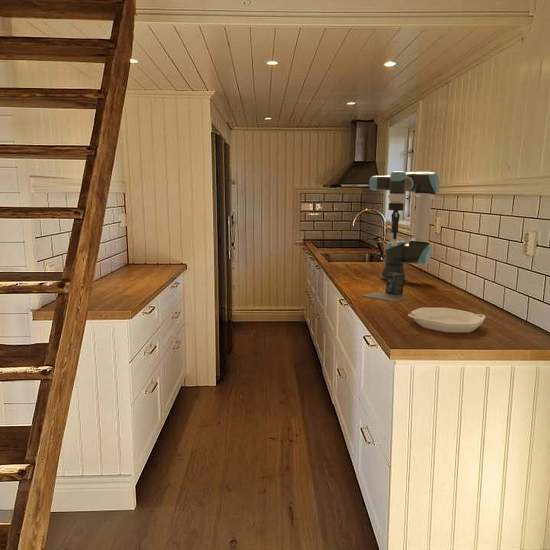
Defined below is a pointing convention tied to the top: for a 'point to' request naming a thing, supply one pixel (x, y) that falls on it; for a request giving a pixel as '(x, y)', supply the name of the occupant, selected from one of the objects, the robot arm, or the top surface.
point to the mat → (385, 296)
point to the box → (394, 283)
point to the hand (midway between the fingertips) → (393, 244)
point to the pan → (447, 319)
